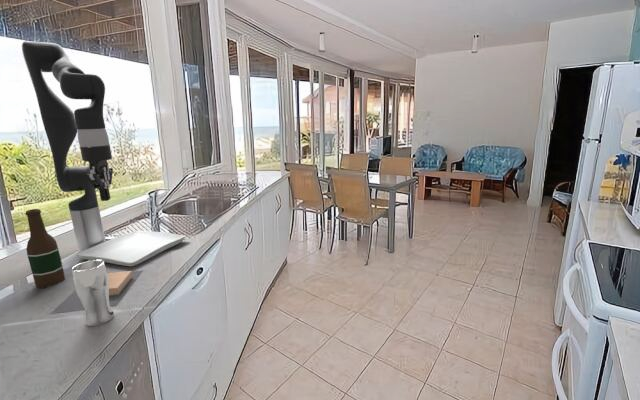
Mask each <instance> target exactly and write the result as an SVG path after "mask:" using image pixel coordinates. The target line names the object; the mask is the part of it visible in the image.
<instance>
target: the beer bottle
mask: <svg viewBox="0 0 640 400" xmlns="http://www.w3.org/2000/svg"><path fill="white" fill-rule="evenodd" d="M41 213H42V211H41V209H39V208H33V209H29V210H26V211H25V216H26V217H27V222H28V227H29V233H30V234H29V235H30V236H29V239H28V241H27V245H26V255H27V258H28V263H29V266H30V267H29V268H30V269H31V270H30V271H31V274H32V277H33V281H34V284H35V288H37V289H46V288H47V287H51V286H53V285H58V284H60V283H61V282H63V281H64V280H65V279H66V277H65V270H64V267H63V263H62V258H61V256H60V254H61V253H60V250H59V247H58V243H57V240H56V239H55V238H54V237H53V236H52V235H50V234H49V233H48V231H47V229H46V227H45V224H44V221H43V217H42V215H41Z"/></svg>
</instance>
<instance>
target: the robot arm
mask: <svg viewBox="0 0 640 400" xmlns="http://www.w3.org/2000/svg"><path fill="white" fill-rule="evenodd" d="M21 52H22V55H23V56H22V57H23V60H24V62H25V65H26V68H27V72H28V75H29V77H30V80H31V83H32V85H33V89H34V92H35V96H36V101H37V103H38V108H39V112H40V116H41V120H42V124H43V127H44V131H45V133H46V137H47V139H48V140H47V141H48V144H49V146H50V151H51V154H52V160H53V165H54V171H55V176H56V181H57V184H58V186H59V188H60V191H62V192H65V193H70V192H81V191H84V194H83V195H81V196H79V198H76V199H73V200H71V201H70V202H68V210H69V213H70V217H71V223H72V227H73V231H74V235H75V240H76V244H77V249H78V253H79V252H82V251H84V250H87V249H89V248H91V247H94V246H96V245H98V244H101V243H103V242H106V241H107V239H106V236H105V231H104V226H103V222H102V216H101V212H100V207H99V202H98V197H97V196H98V195H97V192H96V190H98V193H99V197H100V200H101V202H105V201H107V202H108V201H109V200H111V195H110V185H112V181H113V180H112V179H113V173H114V169H113V167H110V166H109V163H108V161H109V160H112V158H113V154H112V151H111V145H110V139H109V135H108V133H107V129H106V124H105V119H104V100H105V95H106V86H105V83H104V80H103V78H101V77H100V76H98V75H97V74H93V73H85V72H84V71H83V70H82V69H81V68H79V67H78V65H76V64H74V62H73V61H72V59H71V58H70V56H69V54H68V53H67V52H66V50H65V48H63V47H62V46H61V45H59V44H58V43H54V42H45V41H44V42H43V41H42V42H41V41H30V40H29V41H28V40H27V41H23V42H22V43H21ZM43 73H52V76H53V78H54V79H55V80H56V81H57V82H58V83H59V86H60V91H61V93H62V94H63V96H65V97H66V98H68V99H71V100H91V101H90V104H89V105H88V106H85V107H80V108H77V109H74V110H72V108H71V107H70V106H69V105H68V104H67V103H66V102H65V101H64V100H63V99H62V98H61V97H60V96H59V95H58V94H57V93H56V92H54V91H55V90H54V89H52V88H51V86H50V85H49V84H48V81H46V78H45V77H44V74H43ZM76 136H77V140H78V144H79V145H78V146H79V150H80V154H81V159H82V161H83V162H86V163H87V162H88V165H80V166H79V165H78V166H77V165H76V166H68V165H67V157H68V153H69V151H70V148H71V146H72V144H73V142H74V141H75V138H76Z"/></svg>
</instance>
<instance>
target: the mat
mask: <svg viewBox="0 0 640 400" xmlns="http://www.w3.org/2000/svg"><path fill="white" fill-rule="evenodd" d="M131 271H132V276H133V277H132V279H131V280H130V281H129V282H128V284H127V285H126V286H125V287H124V289H123V290H122V291H121V292H120V294H119V295H116V296H109V303H110V307H111V308H112V307H117V306H118V305H119V303H120V302H121V301H122V299H123V298H124V297H125V296H126V294H127V293H128V291H129V290H130V289H131V287H132V286H133V285H134V283H135V282H136V281H137V280H138V278H139V277H140V276H141V274H142V273H143V272H144V270H143V269H142V270H134V271H133V270H131ZM80 311H85V310H84V307H83V305H82V303H81V301H80V299H79V297H78V295H77V293H76V290H74V291H72V293H71V294H69V295H68V296H67V297H66V298H65V299H64V300H62V302H61V303H60V304H59V305H57V306H56V307H55V309H54V310H52V311H51V313H49V315H53V314H54V315H55V314H61V313H63V314H64V313H70V312H71V313H72V312H80Z"/></svg>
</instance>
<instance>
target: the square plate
mask: <svg viewBox="0 0 640 400" xmlns="http://www.w3.org/2000/svg"><path fill="white" fill-rule="evenodd" d="M185 238H187V235H184V234H177V233H170V232H161V231H153V230H152V231H150V230H138V229H137V230H134V231H131V232H128V233H125V234H122V235H119V236H115V237H114V238H111V239H109V240H106V242H103V243H101V244H98V245H96V246H94V247H91V248H89V249H87V250H84V251H82V252H79V251H78V253H75V256H77V257H78V258H81V259H85V260H87V261H90V260H103V261H104V263H109V264H114V265H119V266H125V267H134V266H137V265H140V264H141V263H143V262H145V261H146V260H149V259H150V258H153V257H154V256H157V255H158V254H160V253H162V252H165V251H166V250H168V249H171V248H172V247H174V246H176V245H179V244H180V243H181V242H182V241H183V240H185Z"/></svg>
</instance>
